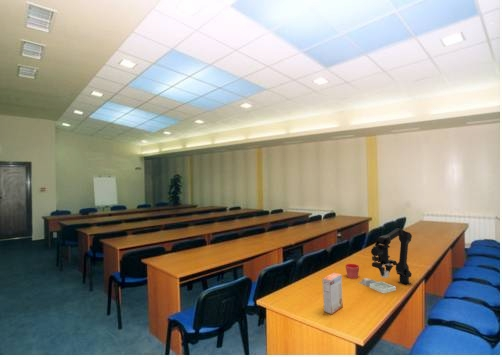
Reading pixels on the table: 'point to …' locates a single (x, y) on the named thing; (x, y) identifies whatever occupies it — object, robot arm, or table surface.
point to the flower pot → (352, 270)
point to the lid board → (371, 281)
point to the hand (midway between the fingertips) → (384, 275)
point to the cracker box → (332, 293)
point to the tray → (382, 287)
